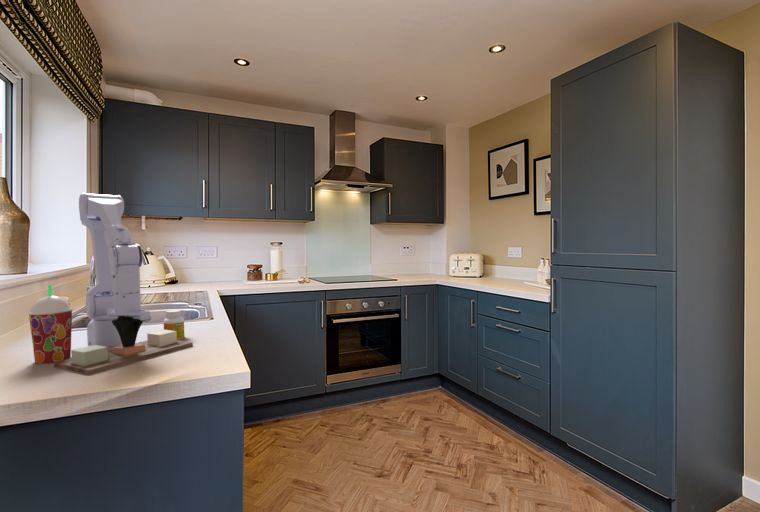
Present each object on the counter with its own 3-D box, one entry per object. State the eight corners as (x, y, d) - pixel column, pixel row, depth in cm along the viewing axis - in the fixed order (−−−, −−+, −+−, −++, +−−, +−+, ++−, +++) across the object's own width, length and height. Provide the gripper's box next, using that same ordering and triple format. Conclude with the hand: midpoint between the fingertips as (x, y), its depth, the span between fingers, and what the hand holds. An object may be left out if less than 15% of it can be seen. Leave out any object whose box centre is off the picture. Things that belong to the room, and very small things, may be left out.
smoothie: (74, 358, 104) (71, 282, 103) (75, 366, 97) (71, 284, 97) (31, 365, 99) (28, 284, 98) (29, 373, 92) (25, 287, 92)
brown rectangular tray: (54, 373, 92) (53, 362, 92) (159, 346, 116) (159, 337, 115) (88, 381, 86) (88, 370, 86) (192, 351, 109) (192, 342, 109)
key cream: (147, 348, 108) (147, 333, 108) (164, 343, 112) (164, 329, 112) (159, 350, 105) (159, 335, 105) (176, 345, 110) (176, 331, 110)
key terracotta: (113, 363, 100) (112, 347, 100) (133, 357, 104) (132, 342, 104) (125, 365, 97) (124, 349, 97) (145, 360, 102) (144, 344, 102)
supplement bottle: (176, 346, 116) (175, 312, 115) (159, 345, 117) (158, 312, 116) (188, 341, 121) (187, 309, 120) (173, 340, 122) (172, 309, 122)
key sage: (72, 367, 92) (71, 350, 91) (95, 361, 96) (95, 344, 96) (84, 370, 89) (83, 352, 89) (108, 363, 94) (107, 347, 94)
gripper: (93, 293, 100) (95, 347, 100) (128, 296, 93) (130, 353, 94) (121, 290, 106) (123, 340, 107) (157, 292, 100) (159, 346, 100)
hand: (129, 346), depth 101 cm, fingers closed, pressing on key terracotta
